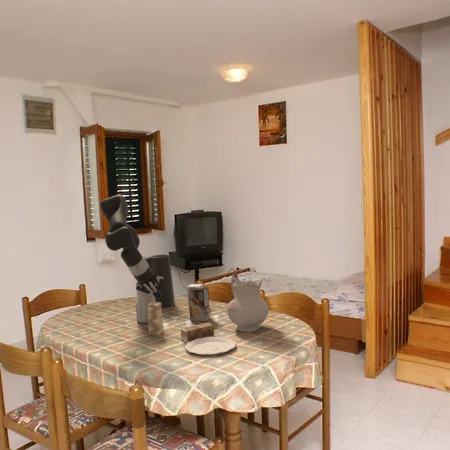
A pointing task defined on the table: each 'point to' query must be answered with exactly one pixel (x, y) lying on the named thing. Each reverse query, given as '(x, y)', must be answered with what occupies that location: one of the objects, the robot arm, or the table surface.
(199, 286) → the supplement box
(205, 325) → the walnut block
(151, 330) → the birch block
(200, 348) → the plate
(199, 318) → the coffee box
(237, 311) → the ceramic pitcher
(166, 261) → the vase
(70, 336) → the table surface
